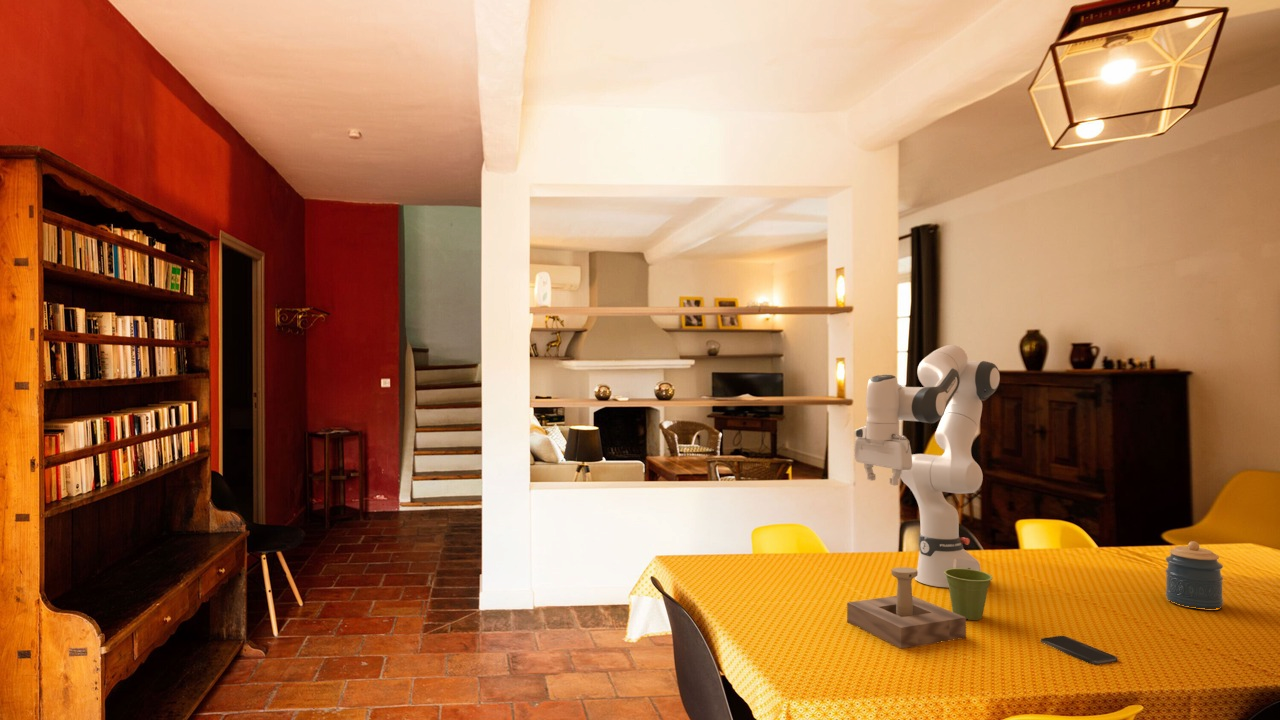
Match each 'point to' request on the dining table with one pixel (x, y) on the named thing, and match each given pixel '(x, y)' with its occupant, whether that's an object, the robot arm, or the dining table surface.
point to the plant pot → (968, 591)
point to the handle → (904, 590)
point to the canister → (1194, 577)
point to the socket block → (906, 622)
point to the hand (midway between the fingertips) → (882, 482)
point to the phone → (1079, 650)
